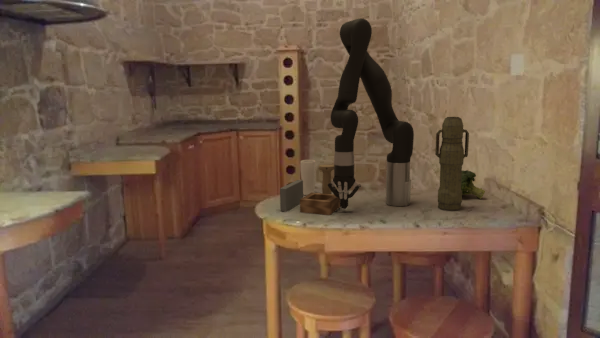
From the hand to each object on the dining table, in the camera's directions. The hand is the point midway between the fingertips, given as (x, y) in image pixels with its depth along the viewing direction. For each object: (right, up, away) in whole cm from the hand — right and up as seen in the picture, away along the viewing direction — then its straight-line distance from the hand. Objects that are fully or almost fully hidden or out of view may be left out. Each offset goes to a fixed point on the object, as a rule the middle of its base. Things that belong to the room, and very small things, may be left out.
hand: (344, 208), depth 181 cm
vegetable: (+54, +3, +20) cm, 57 cm away
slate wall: (-20, 0, +10) cm, 22 cm away
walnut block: (-9, -1, +4) cm, 10 cm away
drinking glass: (-13, +3, +30) cm, 33 cm away
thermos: (+41, 0, +3) cm, 41 cm away
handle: (-6, +1, +17) cm, 18 cm away
